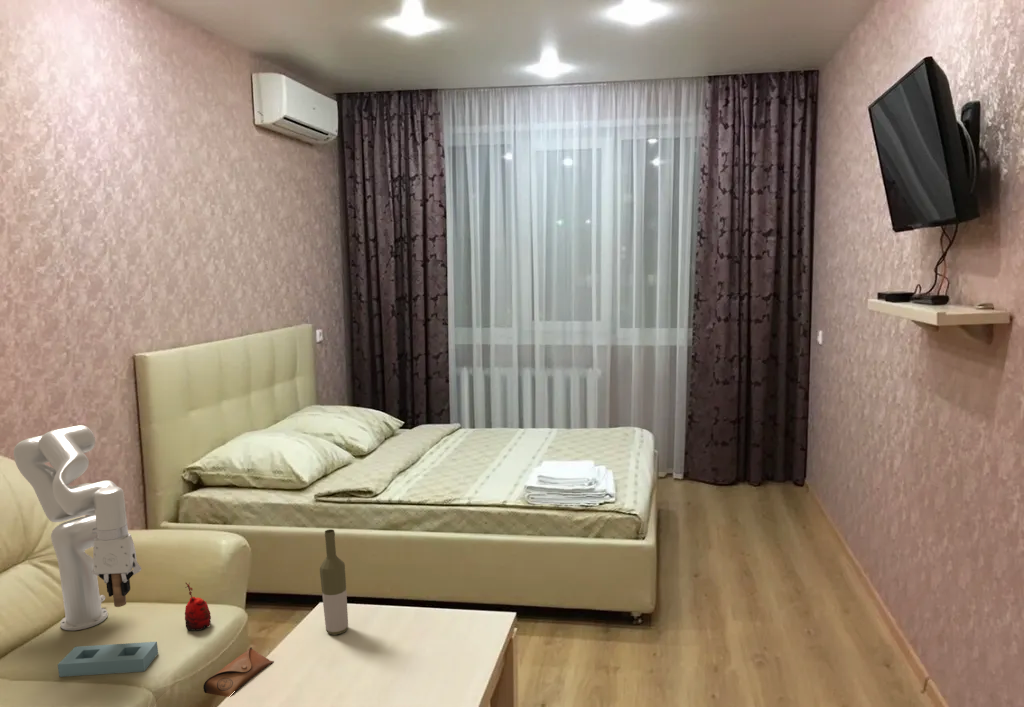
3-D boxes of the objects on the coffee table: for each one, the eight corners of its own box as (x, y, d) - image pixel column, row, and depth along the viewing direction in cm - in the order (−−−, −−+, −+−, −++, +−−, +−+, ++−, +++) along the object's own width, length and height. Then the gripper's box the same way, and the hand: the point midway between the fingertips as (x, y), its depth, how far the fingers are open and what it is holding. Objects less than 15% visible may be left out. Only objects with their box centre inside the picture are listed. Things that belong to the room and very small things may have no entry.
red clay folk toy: (216, 624, 227) (211, 576, 225) (195, 635, 221) (190, 586, 219) (201, 618, 231) (196, 571, 229) (179, 628, 225) (174, 580, 223)
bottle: (351, 633, 218) (344, 532, 214) (326, 639, 216) (318, 537, 211) (347, 622, 225) (339, 524, 220) (323, 628, 222) (314, 529, 218)
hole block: (76, 658, 211) (75, 646, 210) (158, 653, 212) (156, 641, 211) (59, 676, 202) (57, 664, 201) (144, 671, 203) (142, 659, 202)
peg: (117, 602, 217) (113, 562, 215) (128, 601, 217) (123, 561, 215) (112, 607, 214) (108, 566, 212) (123, 606, 214) (119, 566, 212)
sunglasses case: (230, 698, 189) (217, 674, 189) (212, 707, 191) (199, 684, 192) (276, 660, 205) (264, 638, 206) (258, 669, 208) (246, 648, 208)
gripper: (75, 538, 208) (82, 601, 211) (136, 536, 209) (143, 599, 211) (89, 527, 215) (96, 589, 218) (148, 525, 216) (154, 586, 219)
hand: (119, 593), depth 215 cm, fingers closed on peg, 3 cm apart
